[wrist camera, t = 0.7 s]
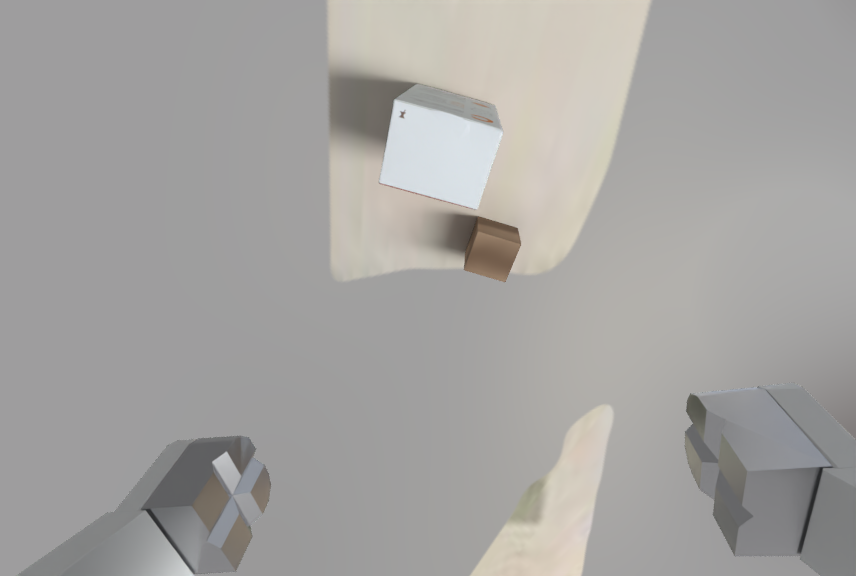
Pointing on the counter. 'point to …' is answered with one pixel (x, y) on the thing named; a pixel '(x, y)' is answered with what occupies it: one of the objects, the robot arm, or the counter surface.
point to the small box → (441, 145)
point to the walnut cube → (492, 249)
